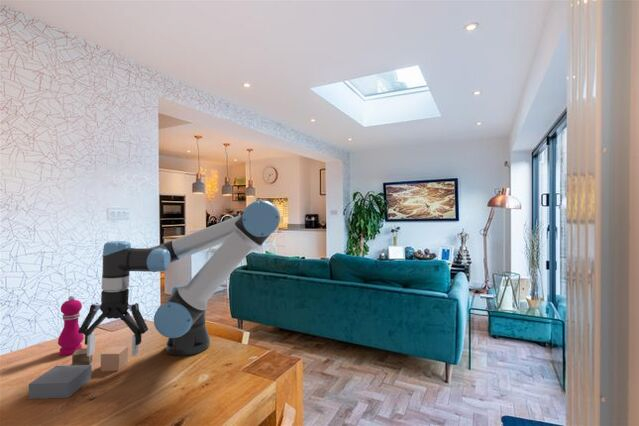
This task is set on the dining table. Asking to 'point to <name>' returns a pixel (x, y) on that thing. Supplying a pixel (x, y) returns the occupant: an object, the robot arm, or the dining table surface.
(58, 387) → the pedestal
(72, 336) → the pepper mill
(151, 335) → the dining table surface
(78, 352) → the walnut block
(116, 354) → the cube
